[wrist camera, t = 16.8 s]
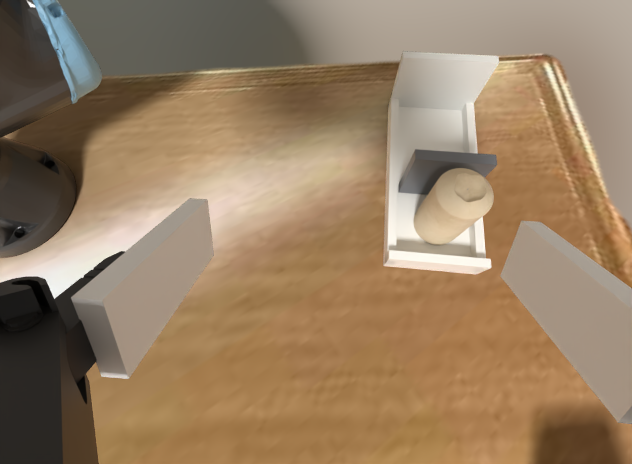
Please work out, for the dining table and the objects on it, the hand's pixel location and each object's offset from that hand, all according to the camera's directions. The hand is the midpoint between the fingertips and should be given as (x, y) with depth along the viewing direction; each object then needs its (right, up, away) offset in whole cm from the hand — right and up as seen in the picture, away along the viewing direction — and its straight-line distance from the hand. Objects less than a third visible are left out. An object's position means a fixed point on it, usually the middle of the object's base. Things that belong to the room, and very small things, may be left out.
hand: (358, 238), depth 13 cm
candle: (+13, +1, +25) cm, 28 cm away
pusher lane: (+13, +7, +28) cm, 31 cm away
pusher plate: (+13, +5, +26) cm, 29 cm away
